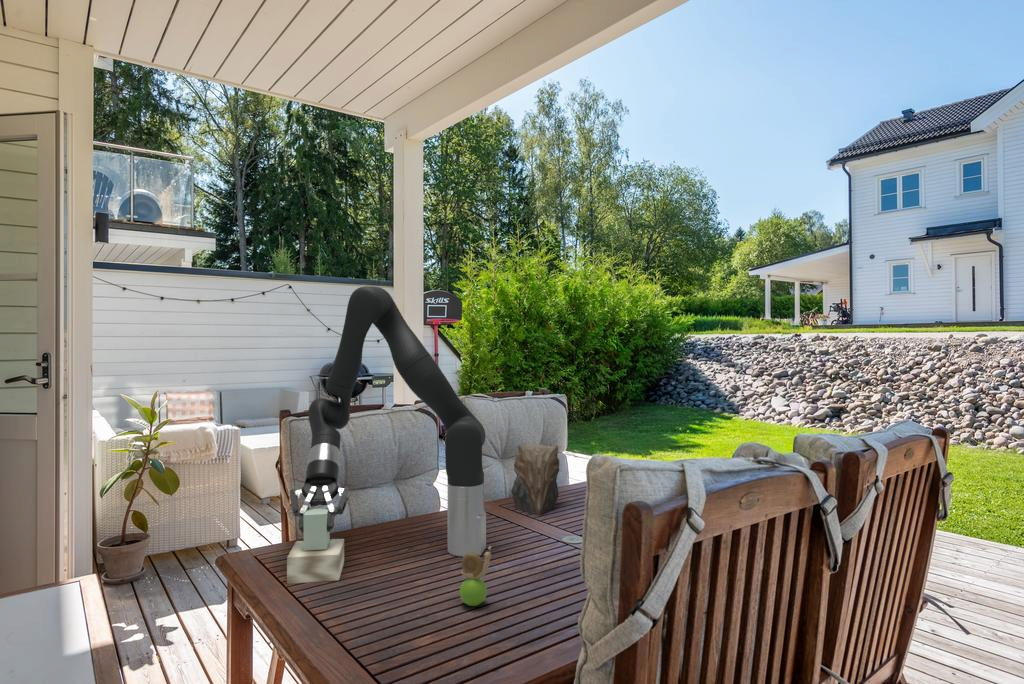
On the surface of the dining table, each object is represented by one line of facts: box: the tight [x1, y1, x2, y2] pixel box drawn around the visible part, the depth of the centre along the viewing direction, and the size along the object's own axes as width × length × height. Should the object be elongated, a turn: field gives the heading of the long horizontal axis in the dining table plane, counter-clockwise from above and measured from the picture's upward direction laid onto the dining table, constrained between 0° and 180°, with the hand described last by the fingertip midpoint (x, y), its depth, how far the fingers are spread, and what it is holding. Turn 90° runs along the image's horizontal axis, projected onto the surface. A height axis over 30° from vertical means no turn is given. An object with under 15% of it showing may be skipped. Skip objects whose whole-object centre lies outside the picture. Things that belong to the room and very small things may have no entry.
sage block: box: [303, 507, 331, 551], centre depth 138 cm, size 5×5×8 cm
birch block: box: [286, 538, 345, 585], centre depth 138 cm, size 11×11×6 cm
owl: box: [510, 443, 560, 517], centre depth 191 cm, size 13×13×20 cm
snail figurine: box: [459, 545, 492, 607], centre depth 121 cm, size 5×6×12 cm
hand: (315, 530), depth 136 cm, fingers closed on sage block, 5 cm apart
